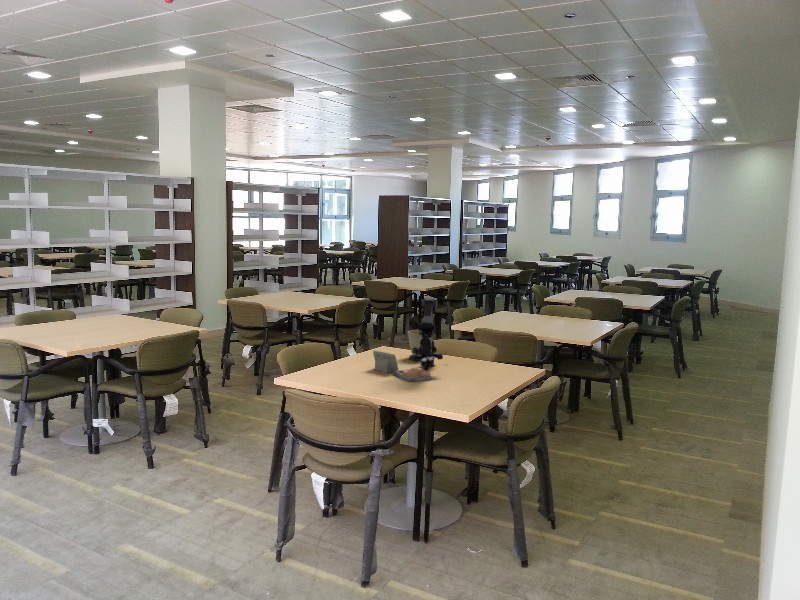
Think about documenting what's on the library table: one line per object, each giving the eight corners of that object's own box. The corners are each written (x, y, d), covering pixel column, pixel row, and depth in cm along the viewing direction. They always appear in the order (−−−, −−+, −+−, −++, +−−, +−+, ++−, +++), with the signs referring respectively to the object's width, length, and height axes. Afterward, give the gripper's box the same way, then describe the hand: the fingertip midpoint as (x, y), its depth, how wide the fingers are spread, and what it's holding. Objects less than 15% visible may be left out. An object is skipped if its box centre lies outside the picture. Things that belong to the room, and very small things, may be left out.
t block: (417, 373, 352) (417, 367, 351) (430, 378, 340) (430, 372, 340) (398, 375, 345) (398, 369, 345) (411, 380, 334) (411, 374, 334)
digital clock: (400, 372, 353) (400, 353, 351) (387, 374, 347) (387, 355, 346) (382, 366, 365) (383, 348, 364) (370, 368, 360) (370, 350, 359)
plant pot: (410, 360, 385) (410, 334, 383) (405, 354, 400) (405, 329, 398) (433, 359, 388) (434, 333, 386) (428, 354, 403) (428, 329, 401)
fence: (413, 372, 353) (413, 368, 353) (431, 379, 338) (431, 375, 338) (392, 374, 347) (393, 371, 346) (410, 382, 331) (410, 378, 331)
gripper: (432, 340, 356) (431, 368, 358) (403, 343, 347) (403, 371, 348) (443, 344, 347) (442, 372, 349) (414, 346, 337) (414, 375, 339)
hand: (425, 372), depth 346 cm, fingers closed
